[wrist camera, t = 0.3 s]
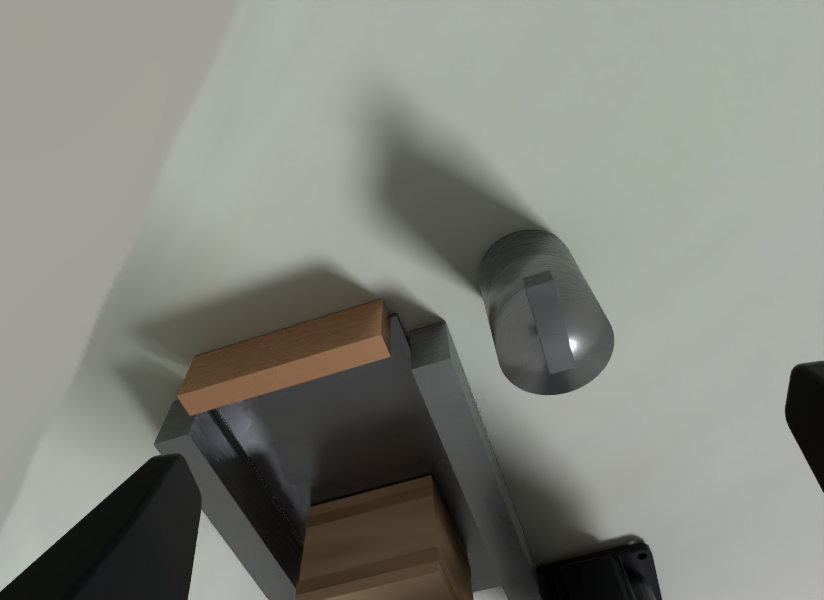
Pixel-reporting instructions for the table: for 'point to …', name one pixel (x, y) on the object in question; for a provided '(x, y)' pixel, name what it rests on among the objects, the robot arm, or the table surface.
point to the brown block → (384, 548)
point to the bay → (382, 415)
